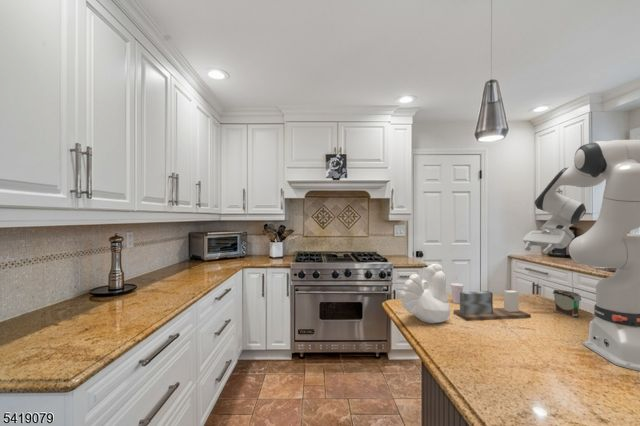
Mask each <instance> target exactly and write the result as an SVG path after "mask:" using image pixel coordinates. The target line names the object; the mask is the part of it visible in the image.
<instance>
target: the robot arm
mask: <svg viewBox="0 0 640 426" xmlns="http://www.w3.org/2000/svg"><path fill="white" fill-rule="evenodd" d="M574 153H575V154H574V158H573V159H574V160H573V161H574V162H573V163H574V164H573V165H571V166H570V167H564V168H562V169H561V170H560V171H559V172H558V173H557V174H556V175H555V176H554V178H553V179H552V180H551V181H550V182H549V183H548V184H547V186H546V187H545V188H544V189H543V190H542V192H540V193H539V194H538V195H537V196H536V197H535V200H534V206H535V207H536V209H537V210H540V211H542V212H546V213H548V214H551V217H550V218H548V220H546V221H545V223H543V225H542V226H541V227H540V229H535V230H531V231H529V232H528V233H527V234H526V235H525V236H523V237H522V241H523V243H524V244H525V247H523V248H524V251H526V252H530V251H531V250H532V249H531V248H532V247H533V246H534V247H536V246H537V247H544V248H542V249H541V253H543V254H545V255H547V254H548V253H549V252H551V251H553V250H555V249H564V248H566V247H568V253H569V254H568V255H569V256H570V258H571V259H572V260H573V261H574V262H575V263H576V264H580V265H583V266H588V267H593V268H594V267H595V268H608V269H609V268H612V269H616V270H615V271H614V273H613V274H612V275H610V276H608V277H606V278H605V277H604V278H603V279H601V280H599V281H597V283H596V285H595V304H594V307H593V312H594V315H595V316H594V317H593V319H592V320H590V321H589V326H588V327H589V328H588V338H587V339H588V340H584V341H583V346H585V347H586V348H588V349H590V350H592V351H593V352H595V353H596V354H598V355H599V356H601V357H603V358H604V359H606V360H607V361H609V362H610V363H612V364H614V365H616V366H618V367H622V368H626V369H630V370H634V371H639V372H640V236H637V235H636V236H633V235H632V236H631V235H630V236H629V235H627V234H628V233H629V232H631V231H633V230H636V229H639V228H640V139H613V140H597V141H593V142H590V143H586V144H582V145H581V146H579V148H578V149H576V151H575V152H574ZM604 181H605V185H604V191H603V195H602V202H601V207H600V210H599V211H600V212H599V215H598V218H597V219H596V221H595V223H594V224H593V225H592V226H591V227H590V228H589V229H588V230H587V231H586V232H584V233H583V234H581V235H579V236H577V237H575V234H574V233H573V231H572V230H571V229H570V227H572V226H574V225H575V224H578V223H579V221H581V219H582V218H583V217H584V216H585V215H586V213H587V208H586V206H585V204H584V203H582V202H580V201H579V200H576V199H573V198H571V197H568V196H566V195H564V194H561V193H559V192H557V191H558V189H559V188H560V187H561V186H571V187H576V188H591V187H594V186H597V185H600V184H602V183H603V182H604ZM626 235H627V236H626ZM572 239H573V240H572Z"/></svg>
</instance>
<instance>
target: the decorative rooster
mask: <svg viewBox="0 0 640 426" xmlns="http://www.w3.org/2000/svg"><path fill="white" fill-rule="evenodd" d="M425 272H426V273H425V275H424V279H422V278H421V276H420V275H419V274H417V273H412V274H411V275H410V276H408V279H407V280H405V282H404V284H403V286H402V291H401V292H400V300H401V305H402V308H403V309H405V310H406V312H408V313H409V314H413V315H414V316H415V317H416V318H417V319H419V320H420V321H421V322H425V323H427V324H437V323H443V322H445V321H446V320H447V319H449V317H450V314H451V307H450V303H449V298H448V295H447V288H446V286H447V285H446V284H447V283H446V282H447V281H446V280H447V279H446V274H445V273H444V271H443V266H442V264H439V263H438V264H437V263H432V264H430V265H429V266H427V267H426V268H425Z"/></svg>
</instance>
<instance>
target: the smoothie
mask: <svg viewBox="0 0 640 426" xmlns="http://www.w3.org/2000/svg"><path fill="white" fill-rule="evenodd" d="M463 289H464V284H463V283H458V275H455V282H452V283H451V282H450V290H451V296H452V301H453V303H454V304H459V305H460V292H464V291H463Z"/></svg>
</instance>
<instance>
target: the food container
mask: <svg viewBox="0 0 640 426" xmlns="http://www.w3.org/2000/svg"><path fill="white" fill-rule="evenodd" d="M552 294H553V296H554V307H555V311H556V312H557V313H560V314H562V315H565V316H568V317H570V318H572V319H573V318H574V319H575V318H578V317H579V312H580V308H579V307H580V302H581V301H582V297H581V294H579V293H577V292H574V291H568V290H563V289H553V291H552Z"/></svg>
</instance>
